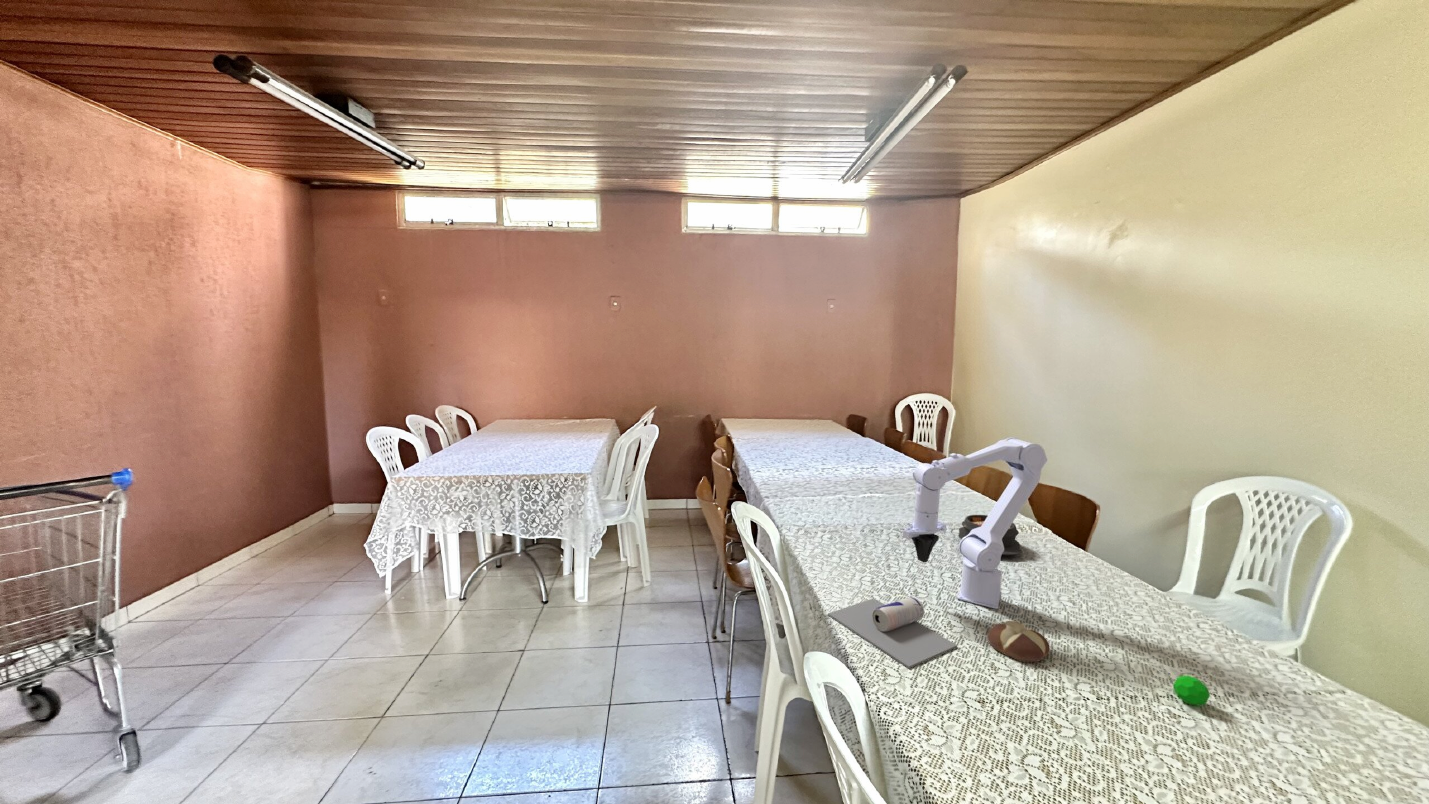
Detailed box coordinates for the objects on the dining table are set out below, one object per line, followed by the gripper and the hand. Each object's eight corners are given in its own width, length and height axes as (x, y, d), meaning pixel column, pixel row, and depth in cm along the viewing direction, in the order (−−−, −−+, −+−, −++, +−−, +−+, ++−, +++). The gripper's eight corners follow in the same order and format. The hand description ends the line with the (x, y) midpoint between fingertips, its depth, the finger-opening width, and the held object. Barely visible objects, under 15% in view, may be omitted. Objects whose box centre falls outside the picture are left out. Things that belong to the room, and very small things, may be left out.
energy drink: (905, 594, 127) (869, 606, 122) (922, 598, 123) (887, 610, 117) (908, 617, 127) (873, 629, 121) (926, 621, 122) (891, 634, 116)
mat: (873, 600, 135) (873, 598, 135) (957, 647, 114) (957, 645, 114) (827, 615, 127) (827, 613, 127) (908, 668, 106) (908, 666, 106)
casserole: (945, 531, 187) (947, 508, 186) (998, 533, 186) (1000, 510, 185) (976, 559, 162) (978, 533, 162) (1037, 562, 162) (1039, 536, 161)
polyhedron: (1214, 708, 96) (1217, 684, 96) (1196, 713, 95) (1199, 689, 94) (1183, 691, 101) (1186, 668, 100) (1165, 695, 99) (1168, 672, 99)
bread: (978, 641, 117) (980, 620, 116) (1013, 631, 121) (1015, 611, 121) (1024, 670, 107) (1026, 647, 106) (1060, 658, 111) (1063, 636, 111)
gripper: (931, 502, 141) (927, 550, 142) (894, 509, 133) (891, 560, 135) (954, 509, 135) (950, 559, 136) (917, 517, 127) (913, 570, 129)
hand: (922, 560), depth 135 cm, fingers closed
